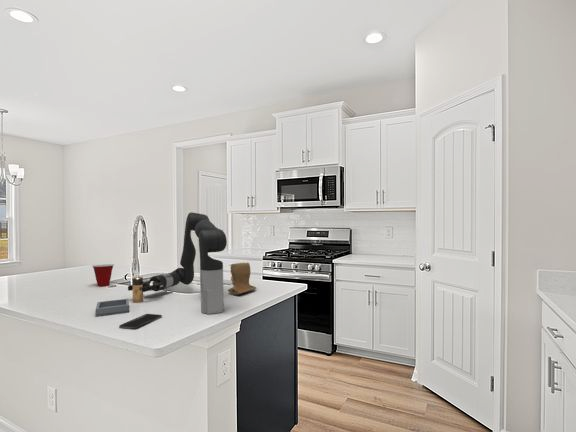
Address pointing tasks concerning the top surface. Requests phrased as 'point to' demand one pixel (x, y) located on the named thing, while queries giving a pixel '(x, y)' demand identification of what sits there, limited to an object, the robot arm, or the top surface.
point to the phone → (140, 321)
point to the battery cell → (137, 289)
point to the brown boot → (240, 278)
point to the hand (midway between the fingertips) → (135, 289)
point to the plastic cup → (103, 274)
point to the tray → (112, 307)
